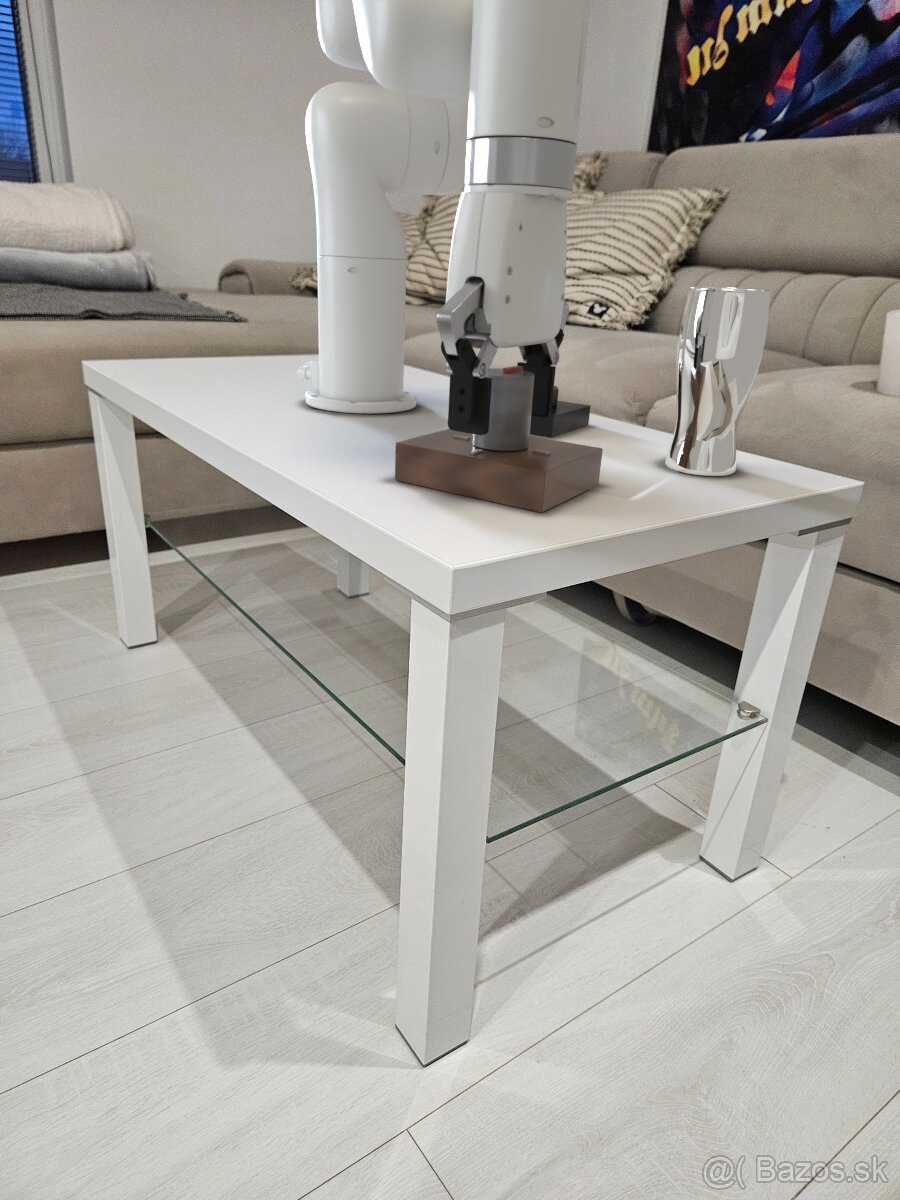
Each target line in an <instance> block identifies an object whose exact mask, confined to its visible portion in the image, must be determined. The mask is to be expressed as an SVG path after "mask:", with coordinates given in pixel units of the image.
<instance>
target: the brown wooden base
mask: <svg viewBox="0 0 900 1200" xmlns="http://www.w3.org/2000/svg"><path fill="white" fill-rule="evenodd" d="M472 441H473V434H470V433H465V432H459V431H454V430H451V429H449V428H447V429H443V430H439V431H438V430H437V431H434V432H432V433H431V432H430V433H427V434H424V435H419V436H416V437H412V438H408V439H405V440H402V441H401V440H400V441H396V442H395V451H394V452H395V453H394V454H395V456H394V458H395V459H394V480H395V481H397V482H401V483H402V482H403V483H406V484H411V485H415V486H420V487H424V488H428V489H432V490H433V489H434V490H438V491H442V492H447V493H450V494H451V493H452V494H455V495H461V496H465V497H468V498H474V499H478V500H484V501H488V502H492V503H496V504H500V505H505V506H510V507H514V508H519V509H524V510H528V511H532V512H538V513H541V514H542V513H544V512H546V511H549V510H550V509H552V508H554V507H556V506H558V505H560V504H562V503H565V502H566V501H569V500H570V499H573V498H575V497H577V496H579V495H581V494H584V493H585V492H587V491H589V490H590V489H593V488H595V487H596V486H599V483H600V476H601V466H602V458H603V450H604V449H603V448H601V447H595V446H590V445H585V444H580V443H579V444H578V443H574V442H573V443H572V442H568V441H567V442H566V441H561V440H557V439H556V440H555V439H551V438H546V437H540V436H538V437H537V436H534V435H530V437H529V447H528V448H526V449H523V450H518V451H496V450H488V449H483V448H480V447H477V446H475V445H473V443H472Z"/></svg>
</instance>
